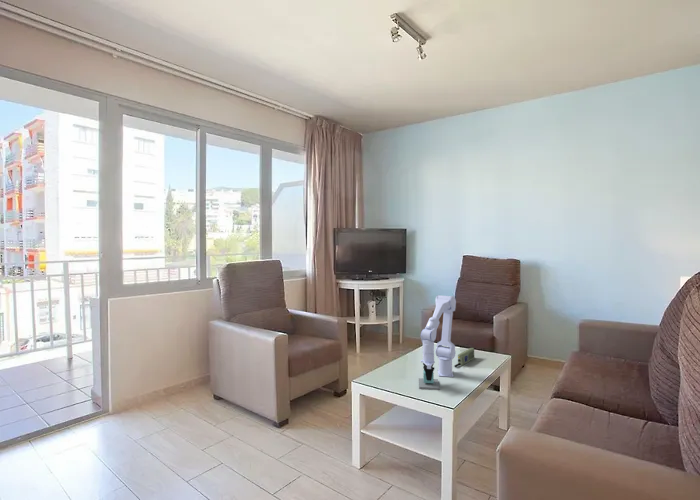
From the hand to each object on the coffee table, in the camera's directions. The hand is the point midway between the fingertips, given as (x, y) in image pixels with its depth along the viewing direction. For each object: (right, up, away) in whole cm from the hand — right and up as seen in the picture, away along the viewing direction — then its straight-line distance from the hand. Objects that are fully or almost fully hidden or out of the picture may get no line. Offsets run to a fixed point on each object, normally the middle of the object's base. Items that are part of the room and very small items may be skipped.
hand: (428, 378), depth 194 cm
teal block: (0, -2, 0) cm, 2 cm away
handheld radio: (+29, -3, +35) cm, 46 cm away
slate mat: (0, -3, 0) cm, 3 cm away
